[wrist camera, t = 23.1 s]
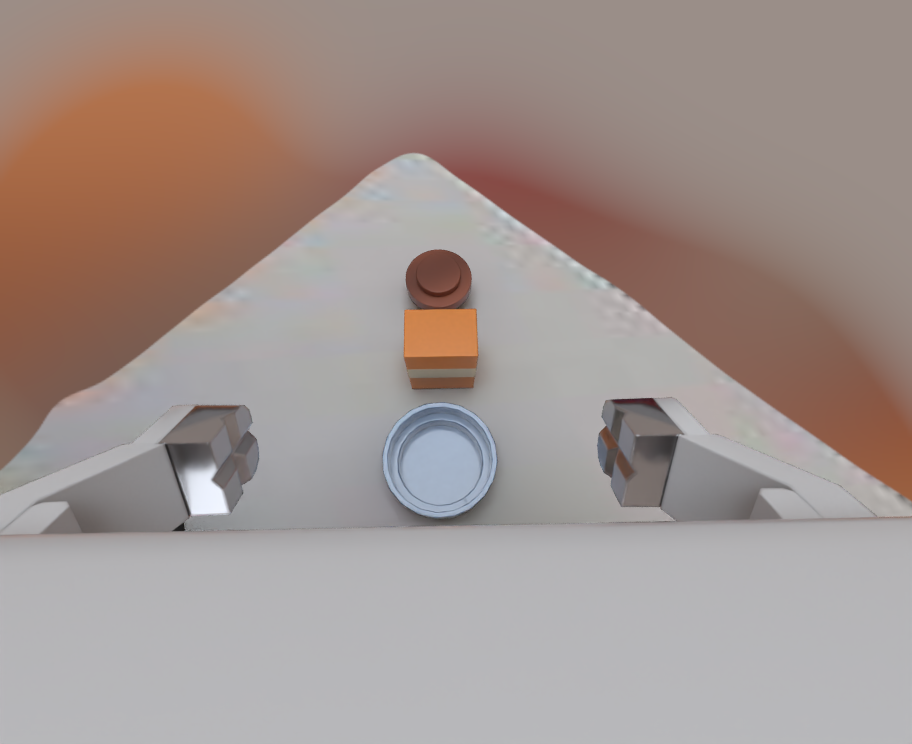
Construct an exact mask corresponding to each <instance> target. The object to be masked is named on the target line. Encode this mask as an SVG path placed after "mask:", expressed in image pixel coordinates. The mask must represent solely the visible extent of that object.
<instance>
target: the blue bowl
mask: <svg viewBox="0 0 912 744" xmlns="http://www.w3.org/2000/svg"><path fill="white" fill-rule="evenodd" d="M382 456H383V472H384V476H385V478H386V481H387V483H388V486H389V489H390V491H391V492H392V493H393V494H394V495H395V497H396V498H397V499H398V500H399V501H400V503H401V504H402V505H404V506H406V507H407V508H409V509H411V510H412V511H414V512H415V513H417V514H419V515H421V516H424V517H429V518H433V519H446V518H454V517H457V516H459V515H461V514H463V513H465V512H467V511H469V510H471V509H472V508H473V507H474V506H475V505H476V504H477V503H478V502H479V501H480V500H481V499H482V498H483V497H484V496H485V495H486V493H487V491H488V489H489V488H490V486H491V484H492V482H493V480H494V477H495V472H496V466H497V453H496V446H495V442H494V440H493V437H492V435H491V433H490V431H489V429H488V427H487V426H486V425H485V424H484V423H483V422H482V421H481V419H480V418H479V417H478V416H477V415H476V414H474V413H473V412H471V411H469V410H467V409H465V408H464V407H462V406H460V405H455V404H450V403H445V402H439V403H429V404H424V405H422V406H420V407H417V408H415V409H413V410H411V411H409V412H408V413H407V414H405V415H404V416H403V417H402V418H401V419H400V420H398V421H397V422H396V424H395V425H394V427H393V428H392V430H391V432H390V433H389V435H388V436H387V439H386V443H385V447H384V450H383V455H382Z"/></svg>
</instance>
